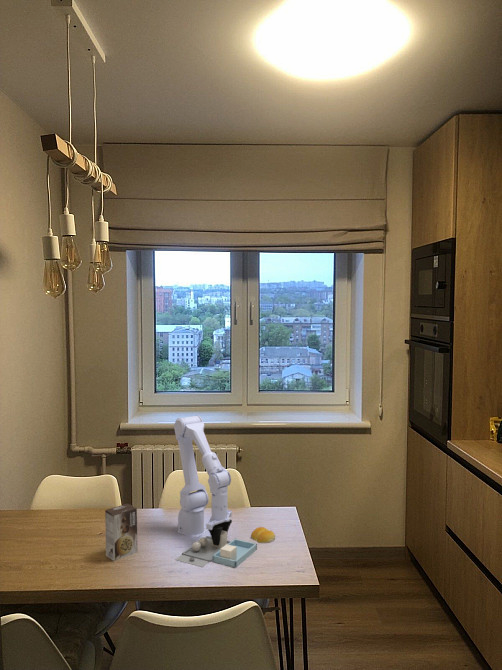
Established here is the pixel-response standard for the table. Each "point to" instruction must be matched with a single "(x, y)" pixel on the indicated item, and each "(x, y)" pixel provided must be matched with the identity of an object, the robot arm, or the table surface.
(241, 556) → the blue bin
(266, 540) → the bread roll
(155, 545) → the table surface
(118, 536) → the coffee box
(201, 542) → the pebble
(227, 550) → the stone block near
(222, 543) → the stone block far
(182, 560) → the slate tray
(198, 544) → the pebble
